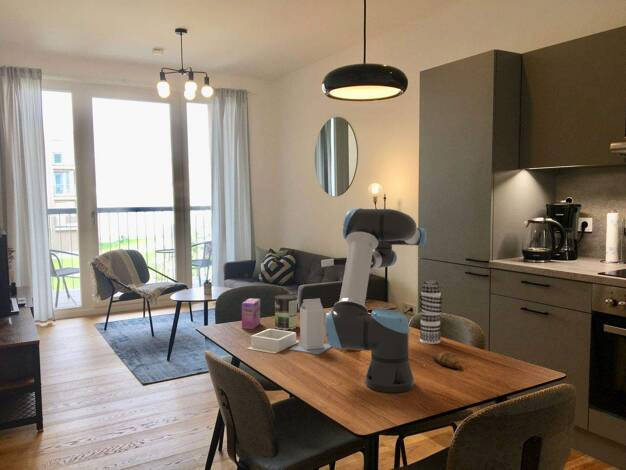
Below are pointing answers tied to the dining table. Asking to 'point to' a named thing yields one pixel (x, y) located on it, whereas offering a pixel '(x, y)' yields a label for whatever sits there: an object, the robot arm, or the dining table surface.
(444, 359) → the croissant
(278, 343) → the white tray
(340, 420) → the dining table surface
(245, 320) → the box
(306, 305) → the milk carton
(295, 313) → the coffee can
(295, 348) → the mat
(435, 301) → the round tower model
